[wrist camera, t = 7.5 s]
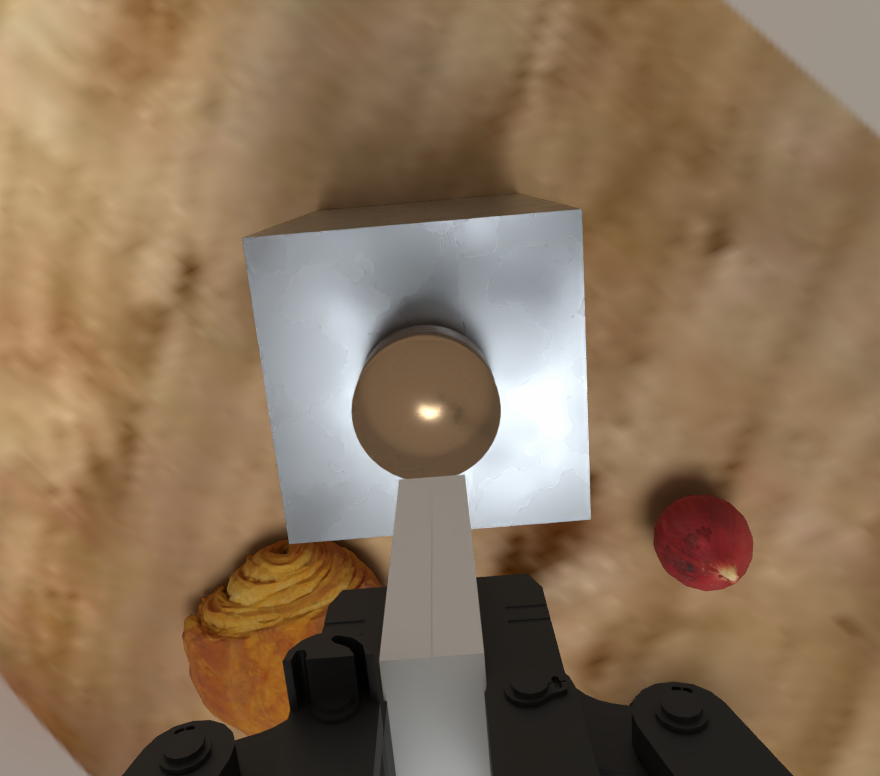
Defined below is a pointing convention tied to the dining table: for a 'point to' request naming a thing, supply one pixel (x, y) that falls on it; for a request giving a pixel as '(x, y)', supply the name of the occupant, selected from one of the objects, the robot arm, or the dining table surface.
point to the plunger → (426, 403)
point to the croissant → (264, 627)
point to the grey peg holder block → (411, 304)
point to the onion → (703, 542)
